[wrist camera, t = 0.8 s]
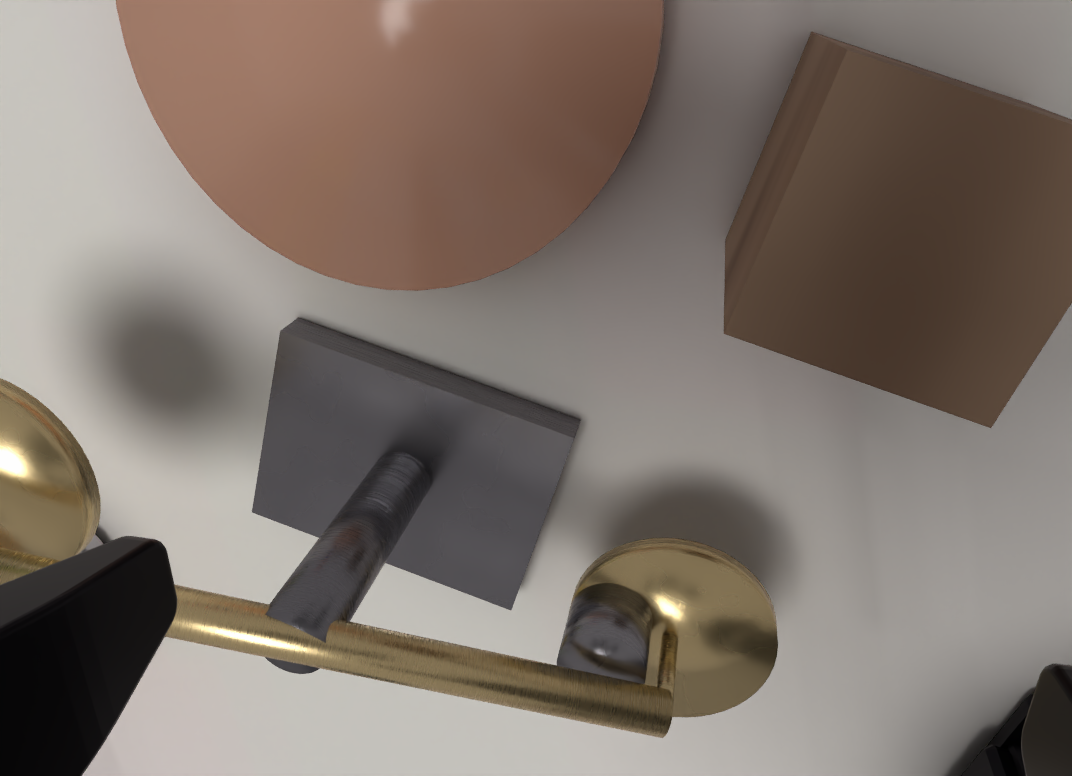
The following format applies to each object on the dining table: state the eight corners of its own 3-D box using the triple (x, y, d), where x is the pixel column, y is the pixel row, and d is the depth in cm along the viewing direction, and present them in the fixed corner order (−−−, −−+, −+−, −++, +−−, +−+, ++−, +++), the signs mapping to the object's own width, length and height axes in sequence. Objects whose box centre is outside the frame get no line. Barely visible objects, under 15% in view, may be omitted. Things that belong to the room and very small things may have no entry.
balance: (811, 503, 22) (862, 827, 13) (722, 664, 24) (718, 1016, 16) (83, 239, 23) (-293, 383, 14) (77, 422, 26) (-240, 631, 17)
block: (1029, 104, 17) (1166, 156, 12) (918, 306, 19) (991, 427, 14) (811, 31, 17) (847, 49, 12) (725, 239, 19) (723, 333, 14)
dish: (757, -222, 16) (759, -238, 15) (567, 341, 21) (558, 359, 20) (165, -408, 16) (126, -436, 15) (131, 184, 22) (100, 194, 21)
